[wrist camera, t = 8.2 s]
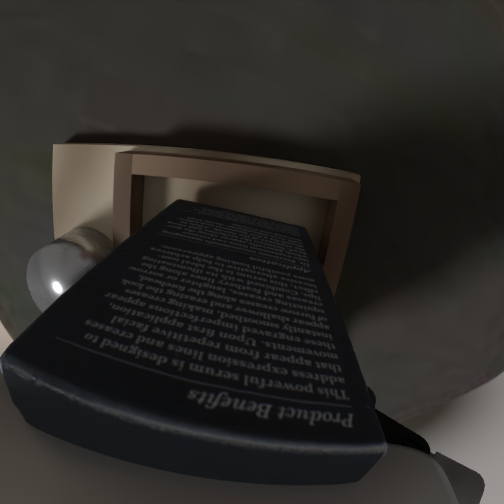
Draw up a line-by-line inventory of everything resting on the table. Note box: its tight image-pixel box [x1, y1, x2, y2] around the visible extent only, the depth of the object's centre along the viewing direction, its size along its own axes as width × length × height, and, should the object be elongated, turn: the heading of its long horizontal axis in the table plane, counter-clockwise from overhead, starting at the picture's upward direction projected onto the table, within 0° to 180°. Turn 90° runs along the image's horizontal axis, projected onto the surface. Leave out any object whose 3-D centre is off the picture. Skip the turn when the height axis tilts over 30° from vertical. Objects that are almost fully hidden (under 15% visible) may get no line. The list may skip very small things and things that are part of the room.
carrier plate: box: [27, 143, 361, 313], centre depth 14 cm, size 14×12×4 cm
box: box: [0, 199, 388, 485], centre depth 9 cm, size 8×6×11 cm
